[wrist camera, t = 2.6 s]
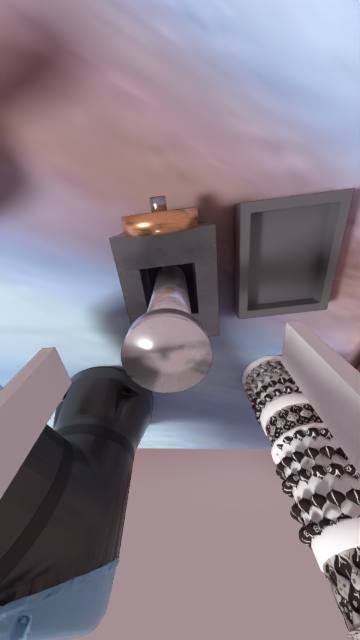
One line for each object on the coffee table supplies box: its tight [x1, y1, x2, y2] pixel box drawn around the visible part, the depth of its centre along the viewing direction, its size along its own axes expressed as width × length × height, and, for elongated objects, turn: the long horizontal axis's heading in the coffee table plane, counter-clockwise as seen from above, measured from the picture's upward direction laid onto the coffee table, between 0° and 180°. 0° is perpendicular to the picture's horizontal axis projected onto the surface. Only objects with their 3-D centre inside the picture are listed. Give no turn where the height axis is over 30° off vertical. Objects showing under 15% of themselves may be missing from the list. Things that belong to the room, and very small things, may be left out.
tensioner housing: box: [109, 196, 219, 337], centre depth 22 cm, size 15×10×8 cm
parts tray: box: [234, 188, 354, 319], centre depth 24 cm, size 13×11×2 cm
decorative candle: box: [242, 355, 360, 640], centre depth 23 cm, size 9×9×25 cm
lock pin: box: [121, 265, 212, 393], centre depth 19 cm, size 5×5×16 cm
